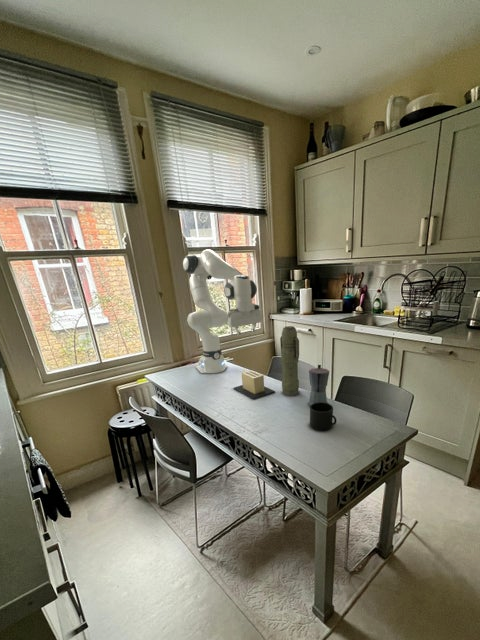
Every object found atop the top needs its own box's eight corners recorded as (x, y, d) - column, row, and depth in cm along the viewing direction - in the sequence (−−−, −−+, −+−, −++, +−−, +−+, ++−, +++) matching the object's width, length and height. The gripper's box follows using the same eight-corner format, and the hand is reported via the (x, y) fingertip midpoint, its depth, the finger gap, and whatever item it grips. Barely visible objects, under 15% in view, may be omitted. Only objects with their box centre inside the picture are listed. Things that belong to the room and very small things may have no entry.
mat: (233, 389, 178) (233, 387, 178) (253, 382, 185) (253, 381, 185) (253, 399, 163) (253, 398, 163) (274, 392, 171) (274, 391, 170)
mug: (329, 436, 127) (330, 416, 123) (305, 427, 134) (305, 408, 131) (341, 426, 133) (342, 407, 129) (318, 418, 141) (318, 400, 137)
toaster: (264, 390, 171) (263, 375, 167) (254, 394, 168) (253, 378, 164) (250, 384, 181) (249, 369, 177) (241, 387, 178) (240, 372, 174)
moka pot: (327, 398, 160) (328, 360, 152) (329, 412, 146) (331, 371, 138) (308, 398, 161) (308, 360, 153) (308, 412, 147) (309, 371, 139)
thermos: (287, 387, 176) (285, 324, 162) (304, 392, 169) (304, 326, 154) (276, 392, 170) (274, 327, 156) (294, 398, 163) (293, 330, 148)
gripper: (230, 310, 162) (232, 337, 167) (262, 305, 173) (264, 330, 178) (224, 309, 166) (226, 335, 172) (256, 304, 177) (257, 329, 183)
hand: (246, 333), depth 175 cm, fingers open, 8 cm apart
